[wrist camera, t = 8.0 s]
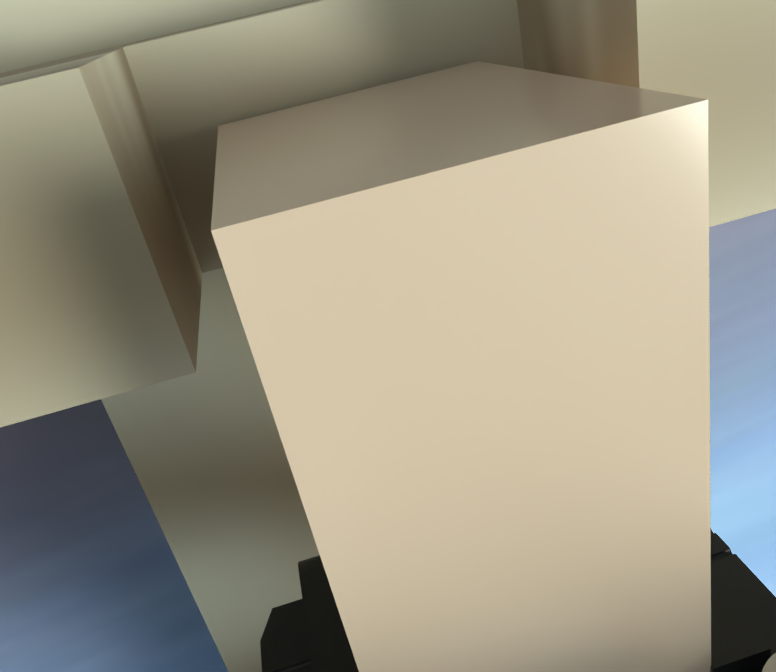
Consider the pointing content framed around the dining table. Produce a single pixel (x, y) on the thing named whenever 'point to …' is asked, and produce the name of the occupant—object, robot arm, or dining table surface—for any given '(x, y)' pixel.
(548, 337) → the clay bar
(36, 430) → the dining table surface
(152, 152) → the rack
